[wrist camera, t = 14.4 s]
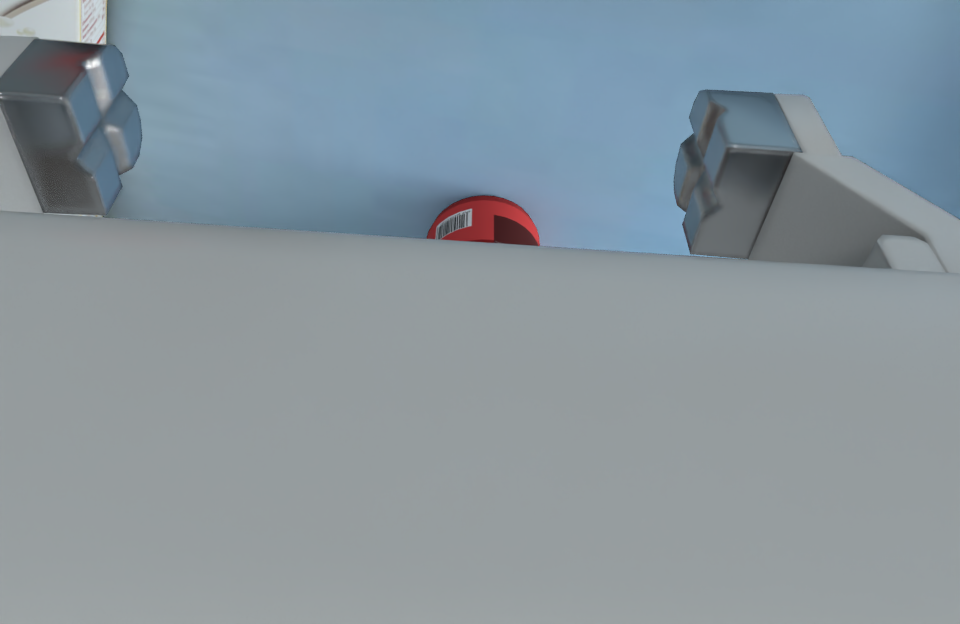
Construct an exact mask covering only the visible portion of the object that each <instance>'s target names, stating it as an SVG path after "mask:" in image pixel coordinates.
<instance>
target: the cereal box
mask: <svg viewBox="0 0 960 624" xmlns="http://www.w3.org/2000/svg"><path fill="white" fill-rule="evenodd" d="M106 21H107V0H0V36H25V37H38V38H40V39H43V38H44V39H54V40H65V41H76V42H86V43H97V44H106ZM44 214H53V213H44ZM60 215H75V216H90V217H102V215H78V214H60Z"/></svg>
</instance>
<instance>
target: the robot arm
mask: <svg viewBox="0 0 960 624" xmlns="http://www.w3.org/2000/svg"><path fill="white" fill-rule="evenodd" d="M128 77H129V74H128V71H127V68H126V64H125V61H124V58H123V54H122V53H121V52H120V51H119V50H118V48H117V47H116V46H115V45H108V44H97V43H86V42H76V41H65V40H54V39H44V38H43V39H40V38H38V37H25V36H0V624H960V219H958V218H956V217H955V216H953V215H951V214H950V213H948V212H946V211H945V210H943V209H941V208H939V207H938V206H936V205H934V204H933V203H931V202H929V201H928V200H926V199H924V198H922V197H921V196H919V195H917V194H916V193H914V192H912V191H911V190H909V189H907V188H905V187H904V186H902V185H900V184H899V183H897V182H895V181H893V180H892V179H890V178H888V177H887V176H885V175H883V174H882V173H880V172H878V171H876V170H875V169H873V168H871V167H870V166H868V165H866V164H865V163H863V162H861V161H859V160H858V159H856V158H854V157H852V156H842V155H841V153H840V151H839V149H838V148H837V146H836V144H835V142H834V140H833V139H832V137H831V135H830V133H829V131H828V130H827V128H826V126H825V124H824V123H823V121H822V119H821V117H820V115H819V114H818V112H817V110H816V108H815V106H814V105H813V103H812V101H811V99H810V98H809V97H807V96H805V95H801V94H773V93H764V92H744V91H724V90H702V91H699V93H698V95H697V97H696V99H695V101H694V103H693V106H692V109H691V113H690V116H689V119H690V122H691V125H692V128H693V132H694V133H693V134H692V135H691V136H690V137H688V138H687V139H686V140H685V141H684V142H683V143H682V144H681V146H680V149H679V153H678V157H677V161H676V165H675V174H674V194H675V199H676V203H677V206H679V207H680V208H681V209H682V210H684V211H685V212H686V215H685V218H684V221H683V224H682V225H683V229H684V232H685V236H686V240H687V243H688V247H689V250H690V254H696V255H707V256H718V257H729V258H715V257H700V256H684V255H669V254H654V253H638V252H623V251H608V250H592V249H577V248H562V247H546V246H531V245H516V244H500V243H485V242H469V241H454V240H439V239H424V238H409V237H393V236H378V235H363V234H348V233H333V232H318V231H302V230H287V229H272V228H257V227H242V226H226V225H211V224H196V223H181V222H166V221H151V220H135V219H120V218H105V217H90V216H75V215H60V214H78V215H103V216H106V215H107V213H108V212H109V210H110V208H111V206H112V205H113V203H114V201H115V199H116V198H117V196H118V194H119V192H120V190H121V189H122V183H121V180H120V177H119V175H121V174H123V173H125V172H127V171H129V170H130V169H132V168H133V167H134V165H135V163H136V161H137V159H138V157H139V155H140V148H141V142H142V129H141V120H140V116H139V112H138V108H137V105H136V104H135V103H134V102H133V101H132V100H131V99H130V98H129V96H128V95H127V94H126V93H125V92H124V91H123V90H122V88H123V86H124V85H125V83H126V81H127V79H128ZM44 213H53V214H44ZM730 258H740V259H730ZM746 259H748V260H746Z"/></svg>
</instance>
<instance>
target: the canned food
mask: <svg viewBox="0 0 960 624" xmlns="http://www.w3.org/2000/svg"><path fill="white" fill-rule="evenodd" d="M426 239H439V240H454V241H469V242H485V243H500V244H516V245H531V246H540V244H539V235H538V232H537V229H536V227H535V225H534V223H533V222H532V220H531V218H530V217H529V215H528V214H527V213H526V212H525V211H524V210H523V209H522V208H521V207H520V206H518V205H517V204H515V203H513V202H511V201H509V200H506V199H504V198H499V197H495V196H474V197H469V198H466V199H462V200H460V201H457V202H455V203H453V204H451V205H450V206H449V207H447V208H446V209H444V210H443V211H442V212H441V213H440V214H439V216H438V217H437V218H436V220H435V222H434V223H433V225H432V227H431V228H430V230H429V232H428V235H427V238H426Z"/></svg>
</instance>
